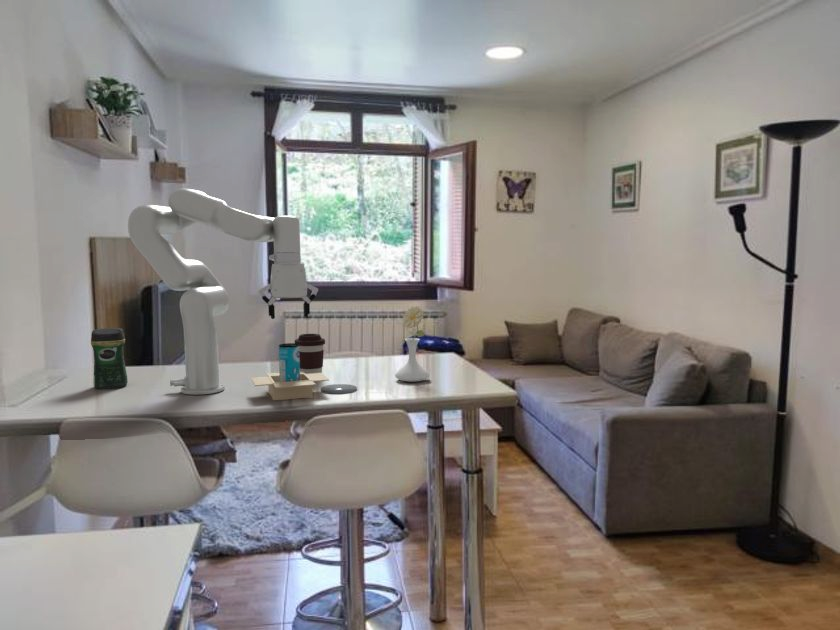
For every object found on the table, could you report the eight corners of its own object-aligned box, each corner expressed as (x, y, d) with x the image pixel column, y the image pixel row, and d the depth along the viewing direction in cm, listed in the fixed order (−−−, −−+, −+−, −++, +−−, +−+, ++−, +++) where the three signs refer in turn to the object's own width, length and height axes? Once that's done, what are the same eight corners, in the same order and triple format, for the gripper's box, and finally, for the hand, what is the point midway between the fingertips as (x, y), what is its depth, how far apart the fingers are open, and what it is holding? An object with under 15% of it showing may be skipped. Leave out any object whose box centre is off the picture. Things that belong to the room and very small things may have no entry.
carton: (257, 406, 168) (257, 388, 168) (249, 390, 188) (249, 374, 188) (333, 399, 176) (333, 382, 176) (318, 384, 196) (317, 369, 195)
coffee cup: (309, 375, 211) (308, 332, 209) (331, 378, 206) (331, 334, 204) (289, 380, 202) (288, 335, 201) (312, 383, 197) (311, 337, 196)
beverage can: (296, 397, 179) (294, 346, 177) (276, 396, 180) (275, 346, 178) (303, 392, 184) (302, 343, 183) (284, 392, 185) (283, 343, 184)
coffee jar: (128, 383, 199) (126, 326, 197) (126, 388, 191) (123, 329, 190) (95, 385, 195) (92, 327, 194) (91, 390, 188) (88, 330, 186)
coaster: (325, 395, 181) (325, 393, 181) (317, 387, 191) (317, 385, 191) (361, 392, 185) (361, 390, 185) (351, 384, 195) (351, 383, 195)
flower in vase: (389, 379, 205) (389, 304, 202) (419, 376, 210) (419, 303, 207) (406, 386, 193) (406, 307, 191) (438, 383, 198) (438, 306, 196)
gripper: (258, 259, 171) (260, 320, 173) (319, 258, 178) (321, 317, 179) (255, 259, 178) (257, 317, 180) (314, 258, 185) (316, 315, 186)
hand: (289, 317), depth 180 cm, fingers open, 9 cm apart
